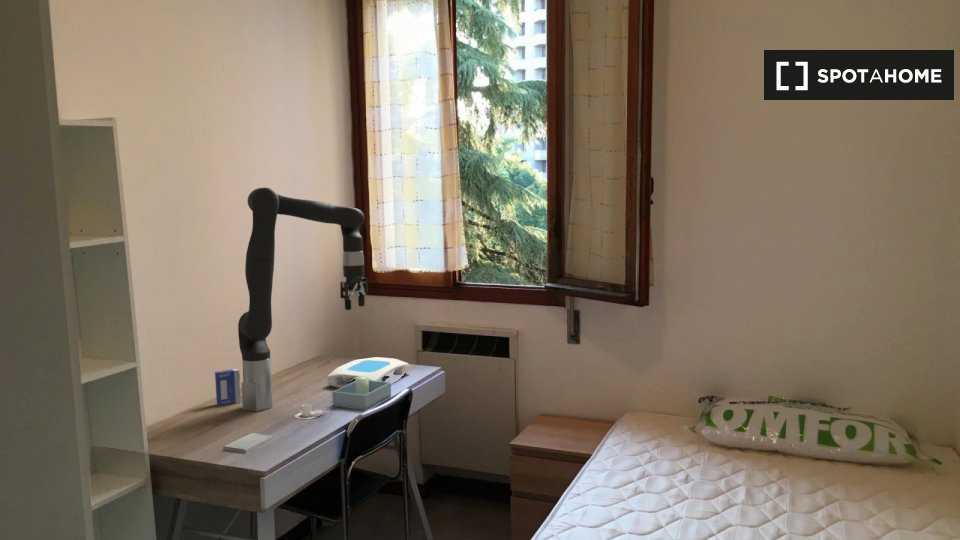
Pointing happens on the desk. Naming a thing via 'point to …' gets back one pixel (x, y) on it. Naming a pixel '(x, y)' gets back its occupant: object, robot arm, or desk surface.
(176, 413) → the desk surface
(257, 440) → the hard drive
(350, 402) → the bin
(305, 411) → the teacup and saucer
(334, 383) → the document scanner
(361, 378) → the mint green capsule
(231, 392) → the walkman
